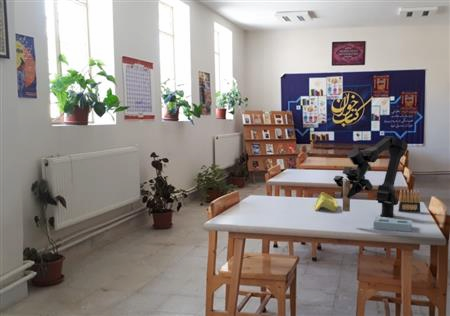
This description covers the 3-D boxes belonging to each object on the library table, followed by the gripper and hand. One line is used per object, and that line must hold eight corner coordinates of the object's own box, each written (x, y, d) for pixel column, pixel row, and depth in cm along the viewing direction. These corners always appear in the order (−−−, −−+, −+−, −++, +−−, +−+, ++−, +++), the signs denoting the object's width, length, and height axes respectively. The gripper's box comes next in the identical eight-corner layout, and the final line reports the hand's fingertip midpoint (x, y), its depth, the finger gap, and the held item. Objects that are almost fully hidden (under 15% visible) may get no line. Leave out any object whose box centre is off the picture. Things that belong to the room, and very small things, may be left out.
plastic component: (338, 207, 259) (321, 199, 259) (332, 219, 260) (314, 211, 261) (336, 198, 278) (320, 190, 278) (329, 209, 279) (314, 201, 280)
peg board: (375, 223, 231) (375, 217, 230) (411, 226, 225) (412, 220, 224) (373, 228, 222) (373, 222, 221) (411, 231, 216) (411, 224, 215)
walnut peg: (343, 209, 229) (343, 180, 228) (350, 210, 228) (350, 180, 227) (342, 211, 226) (342, 181, 225) (349, 211, 225) (349, 181, 224)
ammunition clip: (398, 211, 259) (399, 189, 258) (398, 210, 261) (399, 188, 260) (420, 212, 257) (421, 189, 256) (419, 211, 259) (420, 189, 257)
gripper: (336, 158, 235) (320, 183, 229) (369, 161, 220) (354, 188, 214) (346, 173, 240) (331, 198, 235) (379, 177, 226) (364, 204, 220)
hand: (344, 197), depth 226 cm, fingers closed on walnut peg, 3 cm apart
